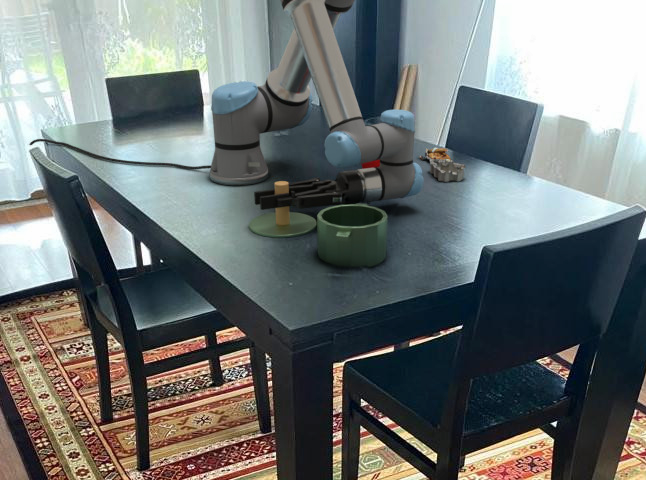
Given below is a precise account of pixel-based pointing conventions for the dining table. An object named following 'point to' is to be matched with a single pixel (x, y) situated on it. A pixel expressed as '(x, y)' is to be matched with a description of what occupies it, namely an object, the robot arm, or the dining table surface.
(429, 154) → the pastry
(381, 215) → the pot
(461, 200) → the dining table surface
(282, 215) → the lid
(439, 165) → the egg carton
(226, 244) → the dining table surface
